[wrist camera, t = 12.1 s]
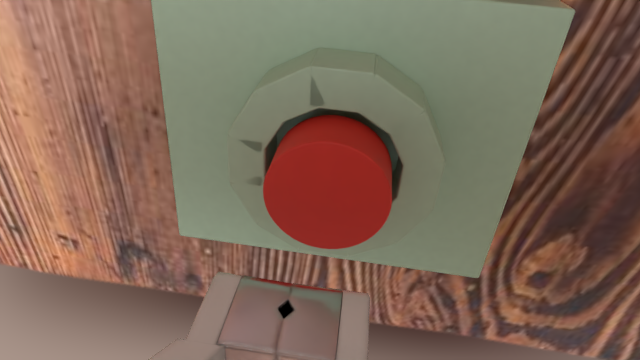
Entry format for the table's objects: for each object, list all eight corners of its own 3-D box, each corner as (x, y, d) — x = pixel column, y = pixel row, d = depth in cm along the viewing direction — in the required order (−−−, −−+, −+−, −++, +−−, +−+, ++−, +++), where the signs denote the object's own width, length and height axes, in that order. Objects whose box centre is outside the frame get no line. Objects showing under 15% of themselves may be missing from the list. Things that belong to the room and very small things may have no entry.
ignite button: (400, 122, 13) (402, 151, 11) (382, 221, 15) (381, 257, 13) (276, 106, 13) (262, 133, 12) (274, 207, 15) (262, 240, 14)
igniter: (552, -6, 14) (604, 25, 11) (470, 242, 19) (488, 315, 16) (176, -43, 15) (113, -26, 11) (197, 205, 20) (160, 266, 17)
